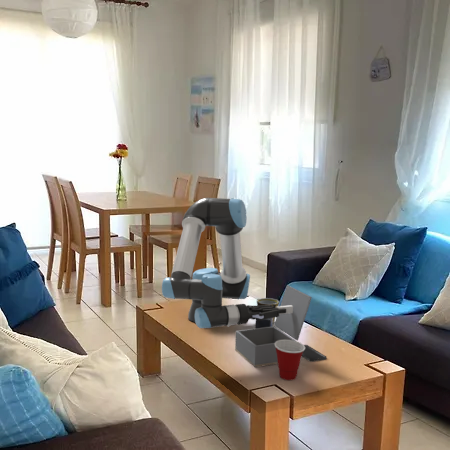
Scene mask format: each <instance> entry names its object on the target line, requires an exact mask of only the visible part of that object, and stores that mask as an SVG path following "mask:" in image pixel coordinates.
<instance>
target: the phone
mask: <svg viewBox="0 0 450 450" xmlns="http://www.w3.org/2000/svg"><path fill="white" fill-rule="evenodd" d="M303 345H304V346H305V350H304V351H303V353H302V356H301V358H303V359H305V360H307V361H308V362H310V363H312V362H320V361H324V360H326V359H327V355H325V354H323V353H321V352H319V350H316V349H315V348H313V347H311V346H310V345H308V344H303Z"/></svg>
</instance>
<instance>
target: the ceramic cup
mask: <svg viewBox="0 0 450 450" xmlns="http://www.w3.org/2000/svg"><path fill="white" fill-rule="evenodd" d="M279 303H280V302H279V300H278V299H276V298H271V297H269V298H268V297H262V298H257V299H256V306H260V305H272V306H273V304H274V305H276V306H275V307H277V306H279ZM275 321H276V317H274V318H273V325H274V324H275Z"/></svg>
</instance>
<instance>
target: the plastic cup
mask: <svg viewBox="0 0 450 450" xmlns="http://www.w3.org/2000/svg"><path fill="white" fill-rule="evenodd" d="M274 344H275V347H276V353H277V360H278V364H277V367H278V373H279V377H280V378H281V379H282V380H286V381H293V380H296V378H297V376H298V372H299V369H300V368H299V367H300V364H301V360H302V353H303V351H304V350H305V346H304V345H305V344H303V343H301V342H299V341H297V340H296V341H293V340H278V341H276V342H275V343H274Z"/></svg>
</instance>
